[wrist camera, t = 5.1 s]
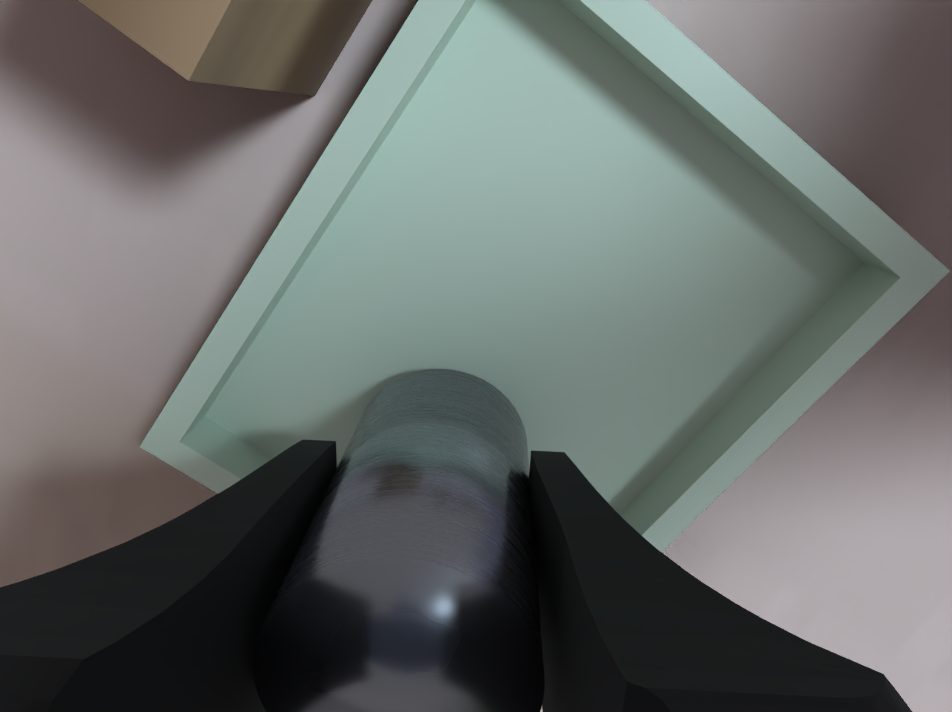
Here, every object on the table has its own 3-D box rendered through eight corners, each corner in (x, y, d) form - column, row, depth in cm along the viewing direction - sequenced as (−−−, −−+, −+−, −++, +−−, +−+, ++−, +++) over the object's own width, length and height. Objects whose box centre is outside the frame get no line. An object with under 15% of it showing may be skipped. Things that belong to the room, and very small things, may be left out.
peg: (555, 406, 13) (594, 622, 7) (489, 542, 14) (479, 817, 9) (388, 342, 13) (298, 519, 7) (335, 487, 14) (222, 736, 8)
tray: (891, 250, 13) (950, 270, 11) (526, 622, 17) (529, 679, 15) (497, -92, 11) (499, -130, 10) (180, 409, 15) (139, 446, 13)
